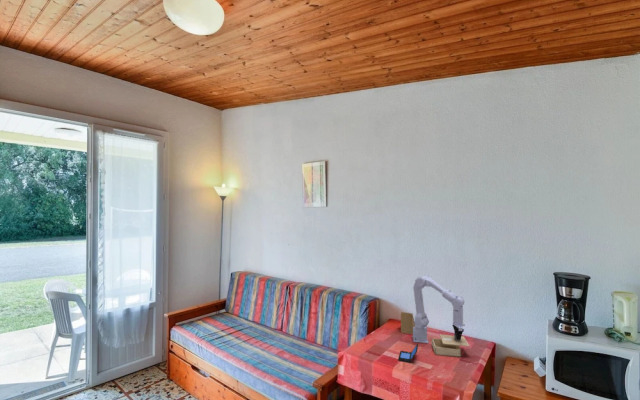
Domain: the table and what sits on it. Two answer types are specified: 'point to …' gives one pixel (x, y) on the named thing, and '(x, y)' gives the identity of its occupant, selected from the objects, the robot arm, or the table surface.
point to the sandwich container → (407, 323)
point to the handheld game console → (407, 355)
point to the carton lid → (453, 340)
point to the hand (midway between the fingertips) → (457, 338)
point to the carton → (445, 348)
